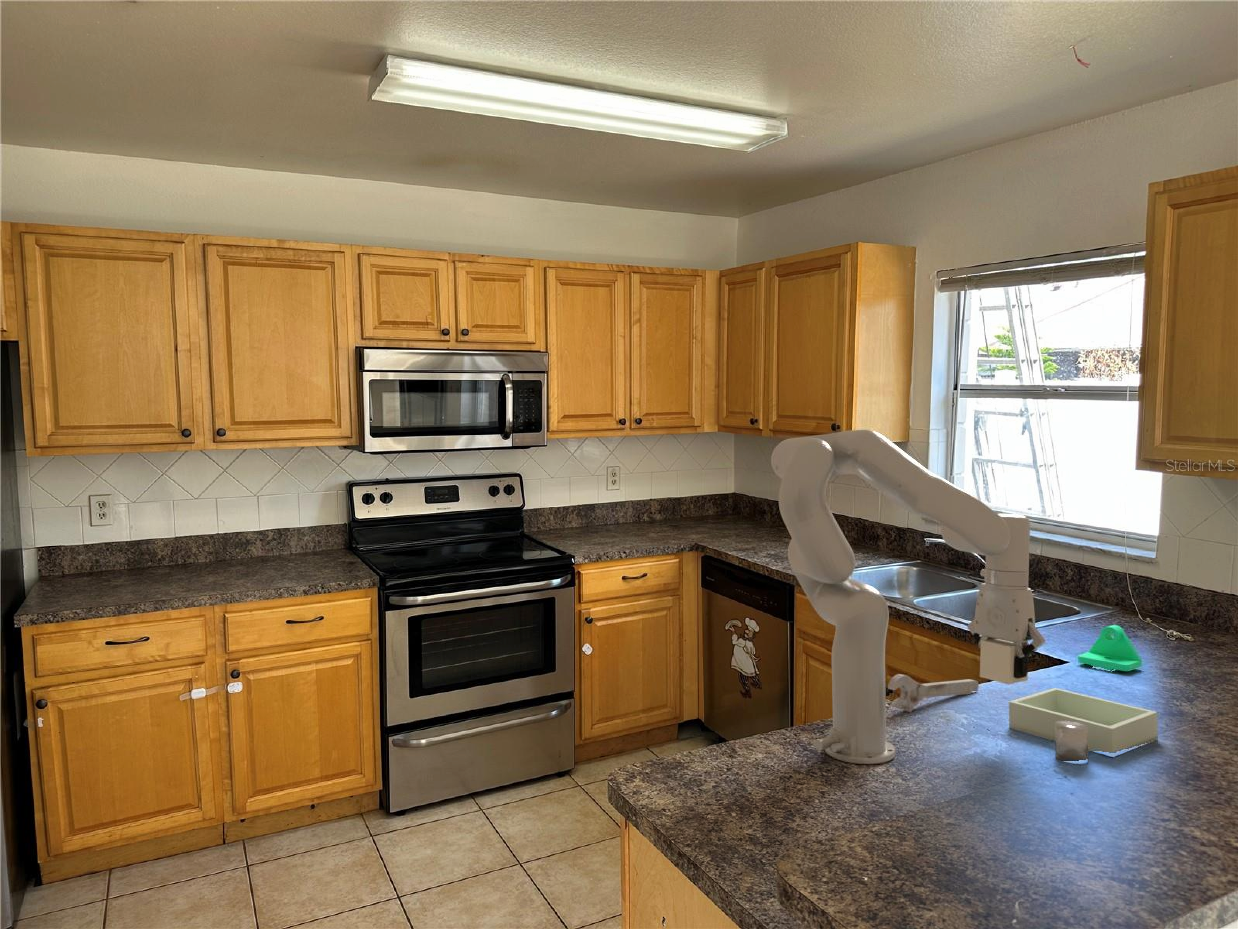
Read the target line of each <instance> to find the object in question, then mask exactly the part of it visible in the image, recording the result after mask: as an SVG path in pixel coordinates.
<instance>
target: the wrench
mask: <svg viewBox="0 0 1238 929" xmlns="http://www.w3.org/2000/svg"><path fill="white" fill-rule="evenodd" d="M899 688H900V695H899V696H898V697H897V698H895V699H894V700H893V701H891V704H892V706H893V707H895V709H898V710H899V709H900V710H903V711H905V712H909V713H912V711H913V710H914V707H915V706H917V704H919V702H920V701H922V700H924V699H928V698H938V697H949V696H961V695H962V696H963V695H971V693H973V694H975V693H974V692H972V691H977V692H979V688H980V687H979V682H978V681H977V680H975V679H969V678H968V679H957V680H946V681H939V682H938V681H937V682H928V683H920V682H918V681H915V680H914V679H912V678H911V677H910V676H909V675H906V674H901V673H897V674H895V675H894V676H892V677H891V679H890V681H889V682H888V684H887V689H888V690H892V691H896V690H897V689H899Z"/></svg>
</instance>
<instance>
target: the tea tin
mask: <svg viewBox="0 0 1238 929" xmlns="http://www.w3.org/2000/svg"><path fill="white" fill-rule="evenodd" d="M1054 745H1055V746H1054V747H1055V748H1054V751H1055V753H1054V754H1055V759H1056V760H1057V761H1059V760H1060V761H1059V762H1062V761H1079V760H1086V759H1088V760H1089V751H1088V727H1087V726H1086V725H1084V724H1081V723H1077V722H1071V721H1059V722H1056V723H1055V741H1054Z"/></svg>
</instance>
